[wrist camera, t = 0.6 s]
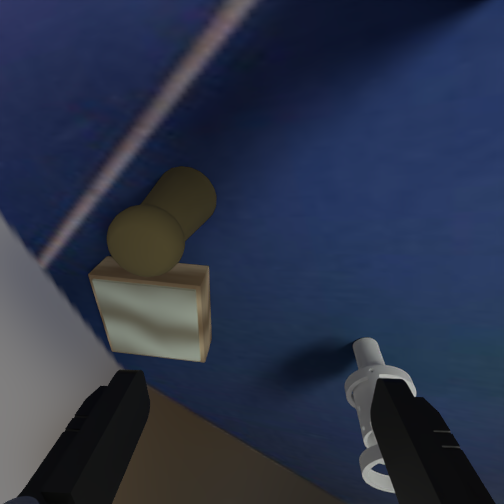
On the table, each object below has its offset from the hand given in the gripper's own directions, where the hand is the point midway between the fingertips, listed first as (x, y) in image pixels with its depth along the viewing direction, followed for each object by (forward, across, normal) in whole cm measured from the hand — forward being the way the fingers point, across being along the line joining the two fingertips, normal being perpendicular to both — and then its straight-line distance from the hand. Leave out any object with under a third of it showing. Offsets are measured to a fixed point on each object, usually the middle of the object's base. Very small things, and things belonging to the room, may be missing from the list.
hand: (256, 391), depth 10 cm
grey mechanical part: (+22, -13, +17) cm, 31 cm away
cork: (+20, +8, -3) cm, 22 cm away
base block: (+22, +13, +11) cm, 28 cm away
